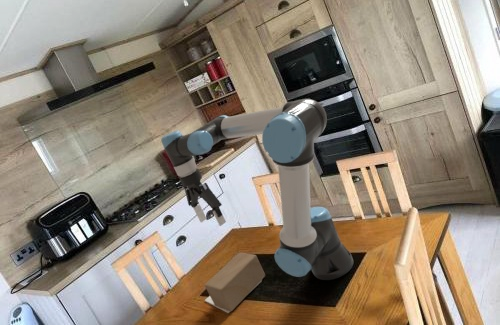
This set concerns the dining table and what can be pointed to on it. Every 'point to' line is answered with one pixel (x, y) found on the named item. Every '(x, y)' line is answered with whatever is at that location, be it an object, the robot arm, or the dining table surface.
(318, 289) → the dining table surface
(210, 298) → the grey mat
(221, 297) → the wooden block
